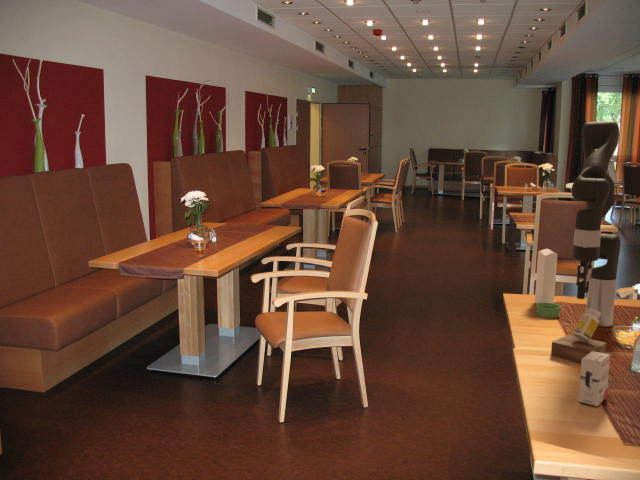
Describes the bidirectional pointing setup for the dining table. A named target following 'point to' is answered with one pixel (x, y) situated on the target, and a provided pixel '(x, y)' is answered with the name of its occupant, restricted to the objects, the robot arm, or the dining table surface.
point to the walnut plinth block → (575, 348)
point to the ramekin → (548, 310)
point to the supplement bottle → (587, 325)
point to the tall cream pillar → (546, 276)
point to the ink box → (594, 378)
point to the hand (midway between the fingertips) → (582, 295)
